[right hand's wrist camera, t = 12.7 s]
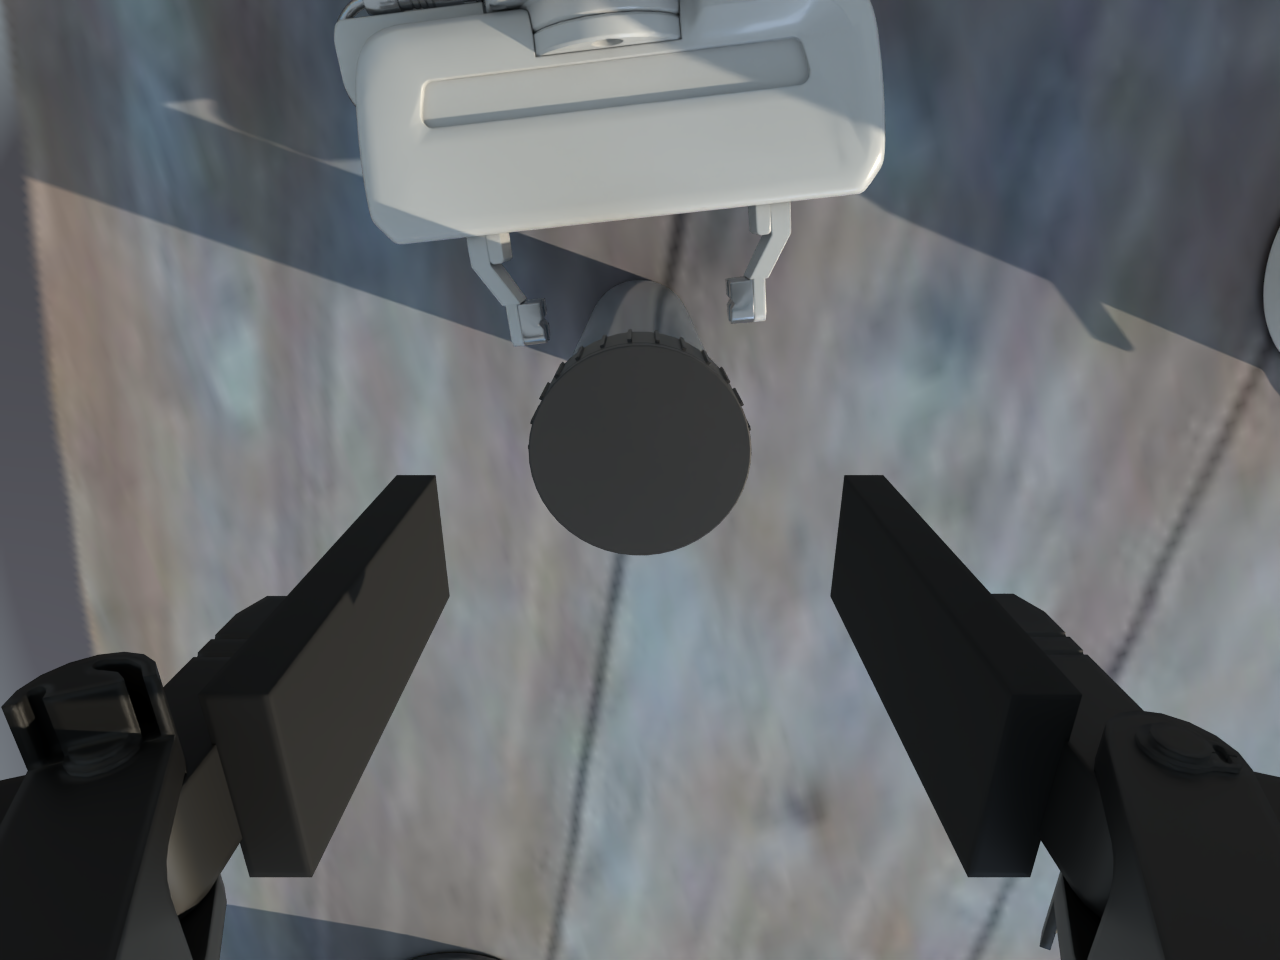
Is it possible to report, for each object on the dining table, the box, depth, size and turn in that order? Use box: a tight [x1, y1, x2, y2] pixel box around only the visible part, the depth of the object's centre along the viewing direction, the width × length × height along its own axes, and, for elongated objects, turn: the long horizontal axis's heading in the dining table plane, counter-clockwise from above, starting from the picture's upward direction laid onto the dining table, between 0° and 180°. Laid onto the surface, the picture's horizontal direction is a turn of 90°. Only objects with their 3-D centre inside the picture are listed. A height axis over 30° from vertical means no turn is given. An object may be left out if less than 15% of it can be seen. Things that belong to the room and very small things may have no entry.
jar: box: [573, 280, 705, 355], centre depth 28 cm, size 5×5×19 cm
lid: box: [528, 329, 752, 555], centre depth 19 cm, size 6×6×2 cm
